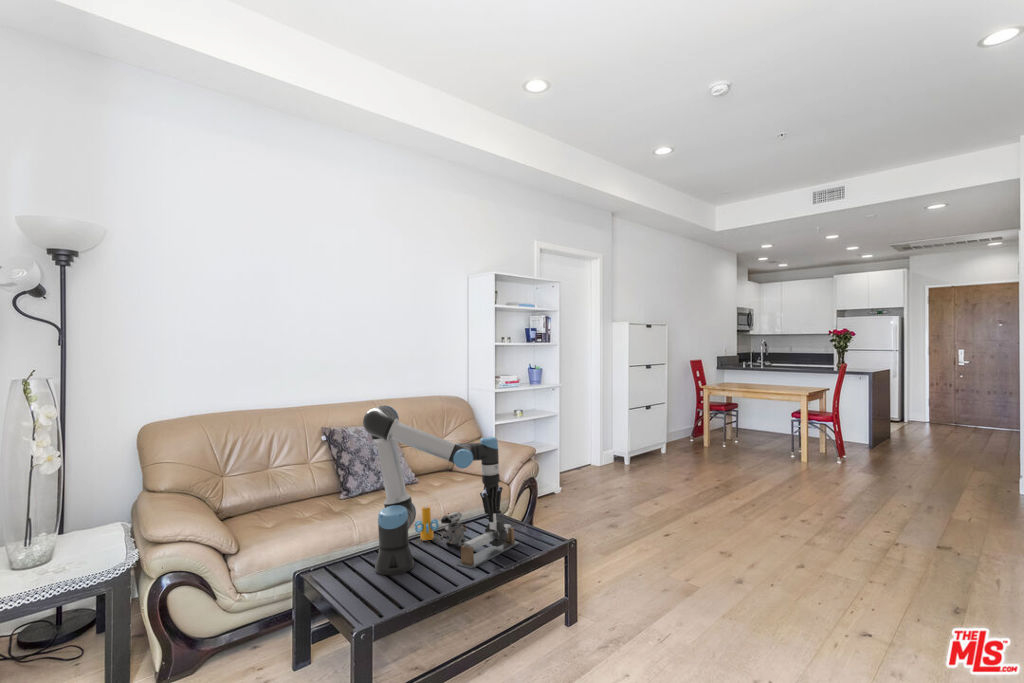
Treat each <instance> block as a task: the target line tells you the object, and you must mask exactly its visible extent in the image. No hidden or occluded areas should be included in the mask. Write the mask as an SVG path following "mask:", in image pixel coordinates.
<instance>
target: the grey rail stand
mask: <svg viewBox="0 0 1024 683" xmlns="http://www.w3.org/2000/svg"><path fill="white" fill-rule="evenodd" d="M503 525H504V527H505V528H506V529H505V531H507V539H506V541H505V542H504V544H503V545H501V546H498V547H496V546H492V545H490V546H488V547H486V548H484V549H482V550H480V551H478V552H476V553H474V551H475V550H476V549H479V548H481V547H483V546H484V545H487V544H490V543H489V542H491V541H493V540H495V539H499V532H498V531H497V529H496V530H491V531H489V532H487V533H485V532H484V533H483V534H480V535H478V536H476V537H474V538H471V539H470V540H467V541H466V542H465V543H464V545H463V546H461V549H460V561H458V562H456V565H457V566H460V567H463V568H467V569H474V568H476V567H478V566H480V565H481V564H483V563H485V562H487V561H489V560H491V559H494V558H495V557H496V556H499V555H501V554H502V553H504V552H507V551H509V550H510V549H512V548H513V547H515V546H517V545H519V541H516V540H515V528H514V527H513V526H512V524H508V523H504V524H503Z"/></svg>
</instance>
